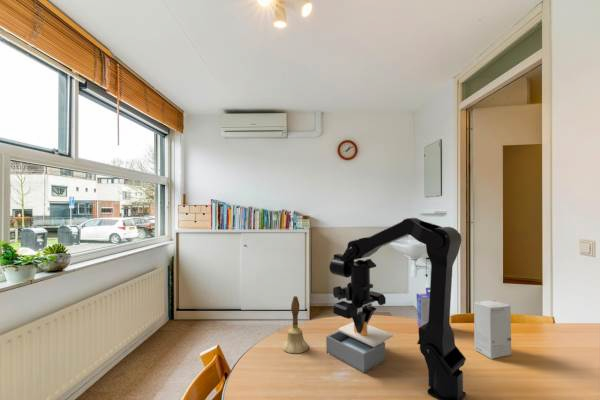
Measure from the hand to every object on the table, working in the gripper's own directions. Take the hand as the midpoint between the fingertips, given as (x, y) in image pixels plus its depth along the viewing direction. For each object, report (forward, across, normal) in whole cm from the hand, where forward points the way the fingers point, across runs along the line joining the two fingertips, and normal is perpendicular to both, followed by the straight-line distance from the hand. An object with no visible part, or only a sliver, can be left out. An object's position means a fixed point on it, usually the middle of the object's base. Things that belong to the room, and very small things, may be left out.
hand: (360, 331), depth 87 cm
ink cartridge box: (+7, -32, +7) cm, 34 cm away
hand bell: (+7, +13, -16) cm, 22 cm away
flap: (+1, -2, 0) cm, 2 cm away
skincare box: (+7, -30, +26) cm, 40 cm away
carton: (+6, +3, 0) cm, 7 cm away
